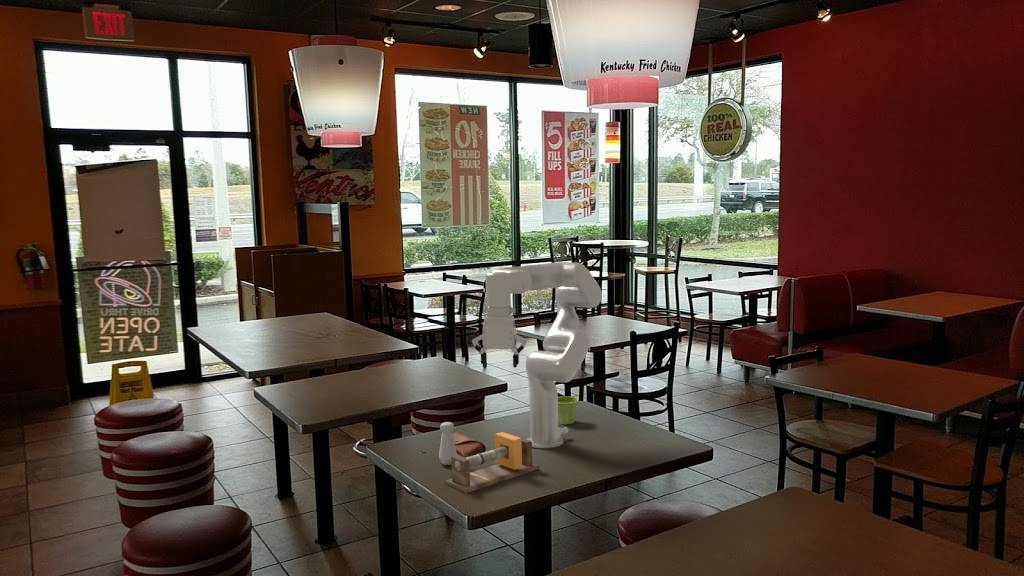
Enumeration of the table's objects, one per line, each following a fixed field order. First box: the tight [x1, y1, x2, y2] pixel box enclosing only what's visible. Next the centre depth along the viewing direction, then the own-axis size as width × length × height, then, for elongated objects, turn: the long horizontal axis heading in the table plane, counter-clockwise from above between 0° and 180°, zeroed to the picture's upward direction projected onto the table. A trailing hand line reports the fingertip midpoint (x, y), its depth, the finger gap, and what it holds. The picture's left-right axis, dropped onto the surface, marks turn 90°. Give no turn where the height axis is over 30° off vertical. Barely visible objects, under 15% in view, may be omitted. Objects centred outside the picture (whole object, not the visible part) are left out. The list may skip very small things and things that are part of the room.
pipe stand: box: [445, 436, 540, 494], centre depth 223 cm, size 28×10×8 cm, turn 130°
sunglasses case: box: [438, 430, 487, 458], centre depth 250 cm, size 18×7×7 cm
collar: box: [494, 431, 522, 470], centre depth 226 cm, size 3×9×9 cm, turn 40°
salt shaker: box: [438, 421, 458, 466], centre depth 235 cm, size 6×6×13 cm
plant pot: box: [558, 396, 579, 426], centre depth 276 cm, size 9×9×9 cm
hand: (499, 366), depth 231 cm, fingers open, 9 cm apart
